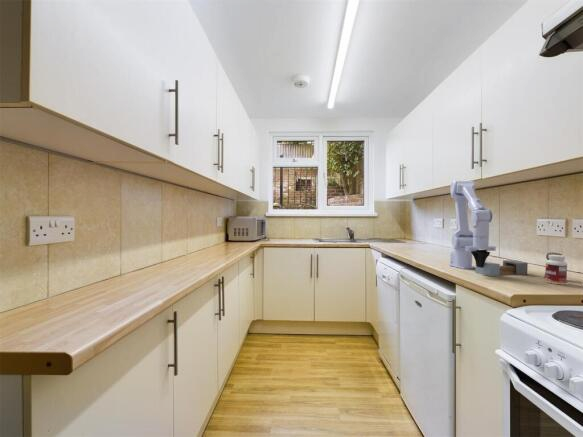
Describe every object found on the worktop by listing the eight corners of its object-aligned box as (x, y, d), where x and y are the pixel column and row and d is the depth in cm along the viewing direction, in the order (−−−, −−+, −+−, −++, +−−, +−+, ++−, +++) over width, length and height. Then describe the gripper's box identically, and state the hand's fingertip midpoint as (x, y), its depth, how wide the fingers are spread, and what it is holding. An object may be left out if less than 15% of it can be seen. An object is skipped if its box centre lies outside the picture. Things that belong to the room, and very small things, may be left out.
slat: (481, 274, 128) (482, 266, 128) (510, 272, 131) (510, 265, 131) (488, 275, 125) (488, 267, 125) (517, 274, 128) (517, 266, 128)
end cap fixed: (502, 271, 133) (502, 260, 133) (511, 271, 134) (511, 260, 134) (518, 274, 126) (518, 263, 126) (527, 274, 127) (527, 262, 127)
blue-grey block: (475, 272, 129) (475, 261, 129) (484, 272, 131) (484, 261, 130) (490, 276, 122) (490, 264, 122) (499, 275, 123) (499, 263, 123)
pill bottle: (540, 281, 114) (541, 254, 114) (556, 281, 114) (557, 254, 114) (554, 285, 108) (555, 256, 108) (571, 285, 108) (572, 256, 108)
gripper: (475, 237, 119) (474, 269, 120) (502, 237, 123) (501, 268, 123) (461, 236, 126) (460, 266, 127) (487, 235, 130) (486, 265, 130)
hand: (479, 267), depth 125 cm, fingers closed
